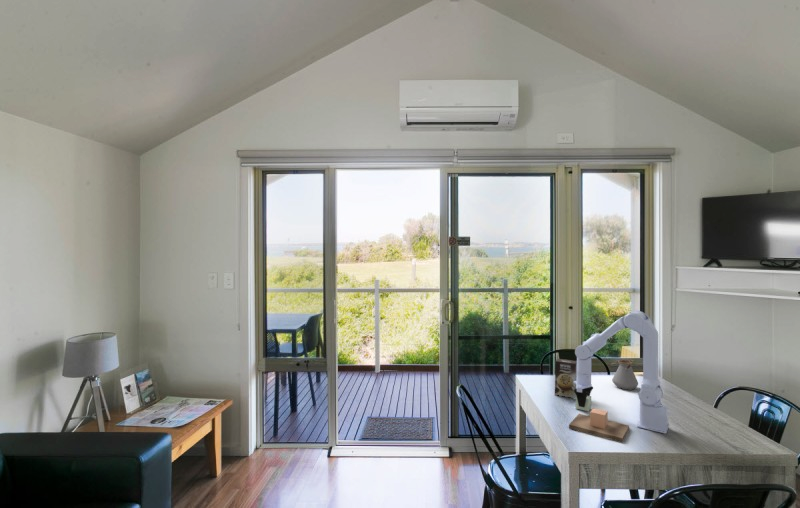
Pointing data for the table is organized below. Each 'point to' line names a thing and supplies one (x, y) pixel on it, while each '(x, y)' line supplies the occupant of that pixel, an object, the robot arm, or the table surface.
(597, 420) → the terracotta block
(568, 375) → the coffee box
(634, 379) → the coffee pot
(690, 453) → the table surface
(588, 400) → the sage block
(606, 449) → the table surface
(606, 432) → the walnut base
